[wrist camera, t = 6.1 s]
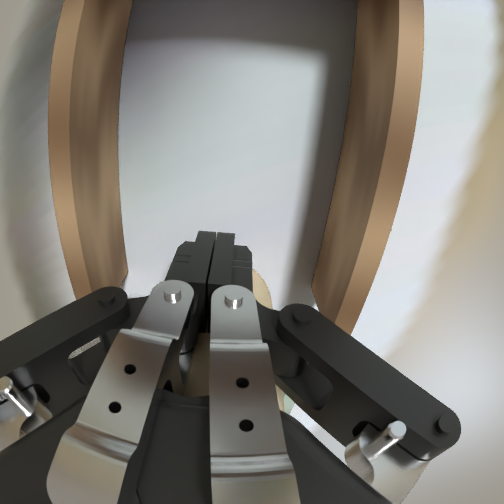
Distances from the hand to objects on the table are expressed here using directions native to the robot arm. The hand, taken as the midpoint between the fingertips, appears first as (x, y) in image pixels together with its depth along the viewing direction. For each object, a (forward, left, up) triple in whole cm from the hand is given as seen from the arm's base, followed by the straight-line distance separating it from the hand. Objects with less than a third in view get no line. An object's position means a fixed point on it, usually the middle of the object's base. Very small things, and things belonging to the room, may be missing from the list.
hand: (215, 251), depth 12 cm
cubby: (-5, 0, -2) cm, 6 cm away
